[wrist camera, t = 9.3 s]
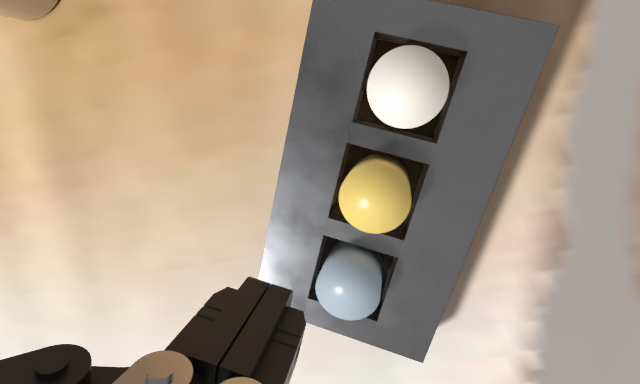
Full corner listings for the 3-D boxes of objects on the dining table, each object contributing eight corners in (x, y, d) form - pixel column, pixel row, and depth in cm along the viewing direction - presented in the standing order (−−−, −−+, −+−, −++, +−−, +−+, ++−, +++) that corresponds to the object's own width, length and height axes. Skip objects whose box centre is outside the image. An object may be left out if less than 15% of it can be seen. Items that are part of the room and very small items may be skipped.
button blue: (321, 279, 29) (309, 308, 25) (334, 230, 28) (323, 253, 24) (374, 296, 28) (370, 328, 25) (390, 247, 27) (388, 273, 23)
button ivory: (364, 114, 25) (358, 118, 21) (382, 47, 23) (378, 37, 19) (428, 130, 24) (433, 137, 20) (450, 62, 23) (461, 55, 19)
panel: (266, 285, 31) (253, 304, 28) (326, -8, 24) (317, -22, 21) (420, 337, 29) (422, 362, 26) (538, 34, 22) (559, 25, 19)
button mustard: (341, 203, 27) (331, 221, 23) (356, 146, 26) (348, 156, 22) (399, 220, 26) (399, 242, 22) (417, 163, 25) (421, 175, 21)
